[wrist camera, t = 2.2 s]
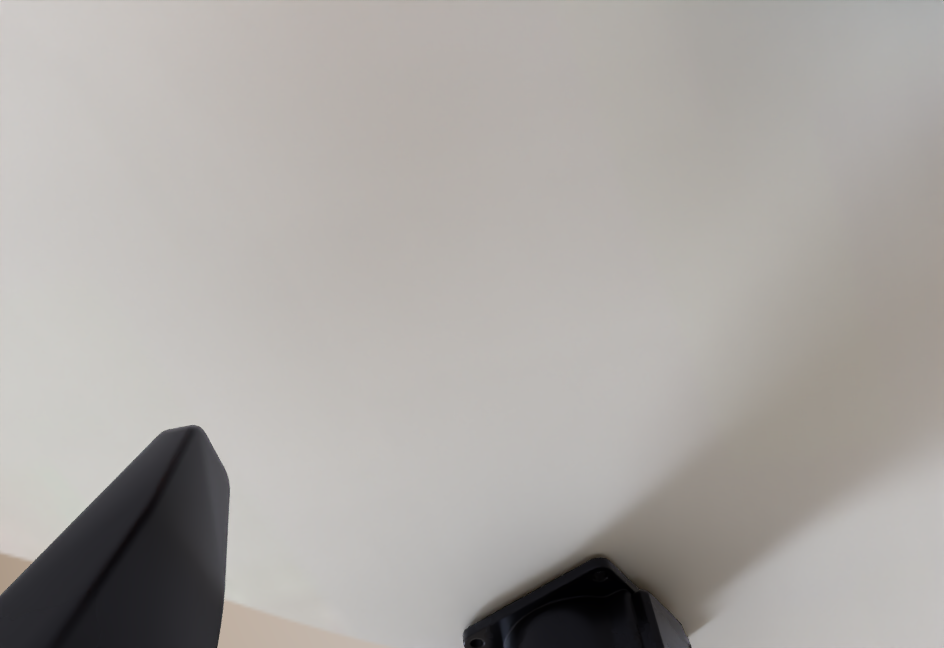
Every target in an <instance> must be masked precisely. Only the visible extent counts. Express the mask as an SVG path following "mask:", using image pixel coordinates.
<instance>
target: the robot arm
mask: <svg viewBox="0 0 944 648" xmlns="http://www.w3.org/2000/svg"><path fill="white" fill-rule="evenodd" d="M229 497H230V486H229V480H228V476H227V473H226V470H225V468H224V466H223V465H222V463H221V461H220V459H219V457H218V455H217V453H216V452H215V450H214V448H213V446H212V444H211V442H210V440H209V438H208V437H207V435H206V433H205V432H204V430H203V429H202V428H201V427H199V426H196V425H190V426H184V427H179V428H173V429H168V430H165V431H163V432H162V433H161V434H159V435H158V436H157V437H156V438H155V439H154V440H153V441H152V442H151V443H150V444H149V445H148V446H147V447H146V448H145V449H144V450H143V451H142V452H141V453H140V454H139V455H138V456H137V457H136V458H135V459H134V460H133V462H132V463H131V464H130V465H129V466H128V467H127V468H126V469H125V470H124V471H123V472H122V473H121V474H120V475H119V476H118V477H117V478H116V479H115V480H114V481H113V482H112V483H111V484H110V485H109V486H108V487H107V488H106V489H105V490H104V491H103V492H102V493H101V494H100V495H99V496H98V497H97V498H96V499H95V500H94V501H93V502H92V503H91V504H90V505H89V506H88V507H87V508H86V509H85V510H84V511H83V512H82V513H81V514H80V515H79V516H78V517H77V518H76V519H75V520H74V521H73V522H72V523H71V524H70V525H69V526H68V527H67V528H66V529H65V530H64V531H63V532H62V533H61V534H60V535H59V537H58V538H57V539H56V540H55V541H54V542H53V543H52V544H51V545H50V546H49V547H48V548H47V549H46V550H45V551H44V552H43V553H42V554H41V555H40V556H39V557H38V558H37V559H36V560H35V561H34V562H33V563H32V564H31V565H30V566H29V567H28V568H27V569H26V570H25V571H24V572H23V573H22V574H21V575H20V576H19V577H18V578H17V579H16V580H15V581H14V582H13V583H12V584H11V585H10V586H9V587H8V588H7V589H6V590H5V591H4V592H3V593H2V594H1V595H0V648H217V646H218V640H219V634H220V628H221V620H222V613H223V604H224V592H225V575H226V555H227V536H228V516H229ZM599 571H601V572H599ZM463 643H464V647H465V648H691V644H690V641H689V639H688V637H687V636H686V635H685V633H684V630H683V627H682V624H681V623H680V622H679V621H678V620H677V619H676V618H675V617H674V616H673V615H672V614H671V613H670V612H669V611H668V610H667V609H666V608H665V607H664V606H663V605H662V604H661V603H660V602H659V601H658V600H657V599H656V598H654V597H653V596H652V595H651V594H650V593H649V592H647V591H645V590H642V589H641V590H639V589H638V588H637V587H636V586H635V585H634V584H633V583H632V582H631V581H630V580H629V579H628V578H627V577H626V576H625V575H624V574H623V573H622V572H621V571H620V570H619V569H618V568H617V567H616V566H614V565H613V564H612V563H611V562H610V561H609V560H607V559H605V558H594V559H592V560H589V561H588V562H586V563H584V564H582V565H580V566H579V567H577V568H575V569H573V570H571V571H570V572H568V573H566V574H564V575H562V576H560V577H559V578H557V579H555V580H553V581H551V582H550V583H548V584H546V585H544V586H542V587H541V588H539V589H537V590H535V591H533V592H532V593H530V594H528V595H526V596H524V597H522V598H521V599H519V600H517V601H515V602H513V603H512V604H510V605H508V606H506V607H504V608H503V609H501V610H499V611H497V612H495V613H494V614H492V615H490V616H488V617H486V618H484V619H483V620H481V621H479V622H477V623H475V624H474V625H472V626H470V627H468V628H467V629H466V630H465V631H464V633H463Z"/></svg>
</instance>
